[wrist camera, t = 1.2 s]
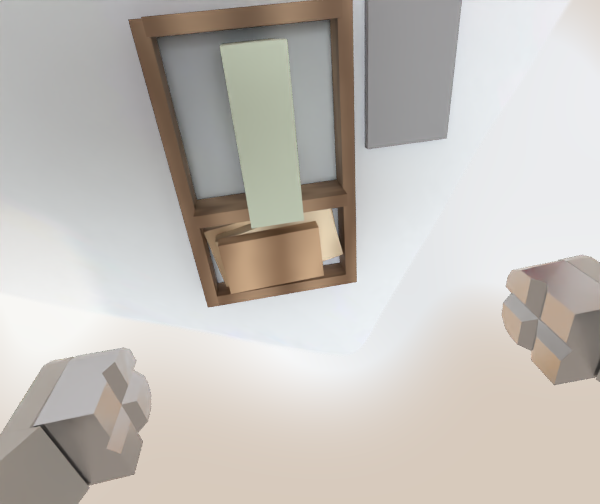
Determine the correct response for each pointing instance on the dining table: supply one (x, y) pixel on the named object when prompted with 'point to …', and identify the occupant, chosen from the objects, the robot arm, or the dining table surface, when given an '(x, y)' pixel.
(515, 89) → the dining table surface
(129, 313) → the dining table surface
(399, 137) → the slate pad
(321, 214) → the offcut stack
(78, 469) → the robot arm
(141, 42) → the frame
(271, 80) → the pale green cuboid
